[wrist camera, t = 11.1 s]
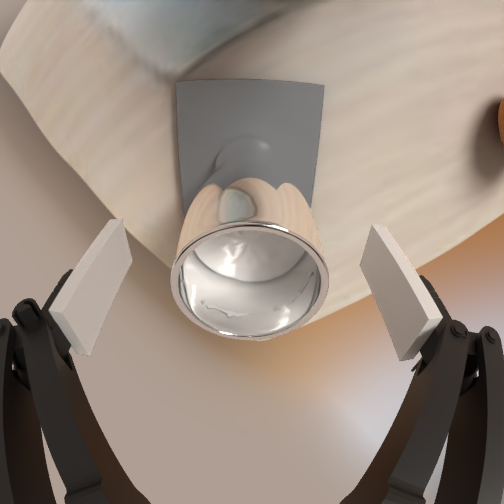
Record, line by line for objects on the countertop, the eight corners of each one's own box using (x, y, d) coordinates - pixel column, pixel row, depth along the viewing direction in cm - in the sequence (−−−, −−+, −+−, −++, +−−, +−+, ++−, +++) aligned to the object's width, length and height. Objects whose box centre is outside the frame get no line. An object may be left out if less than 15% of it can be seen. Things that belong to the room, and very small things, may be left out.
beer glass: (245, 115, 20) (237, 176, 8) (305, 167, 23) (365, 284, 11) (193, 174, 23) (137, 297, 11) (253, 219, 26) (256, 358, 14)
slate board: (179, 81, 19) (176, 81, 18) (320, 84, 20) (324, 85, 19) (189, 238, 29) (187, 244, 28) (302, 240, 29) (304, 246, 28)
